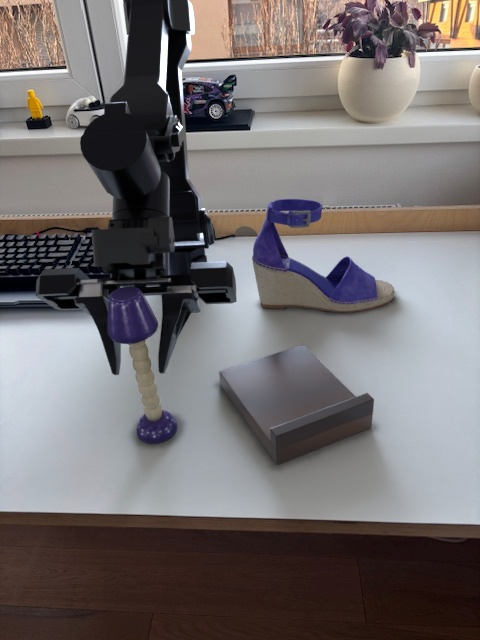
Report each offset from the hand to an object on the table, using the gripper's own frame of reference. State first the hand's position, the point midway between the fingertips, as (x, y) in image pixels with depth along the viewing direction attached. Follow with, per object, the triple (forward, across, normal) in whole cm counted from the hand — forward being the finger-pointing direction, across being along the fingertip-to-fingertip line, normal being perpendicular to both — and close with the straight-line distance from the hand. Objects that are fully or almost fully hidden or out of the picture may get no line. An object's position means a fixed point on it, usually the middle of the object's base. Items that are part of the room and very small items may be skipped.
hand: (138, 373), depth 51 cm
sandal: (-13, +21, +26) cm, 35 cm away
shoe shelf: (+3, +15, +9) cm, 18 cm away
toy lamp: (+5, 0, +7) cm, 9 cm away
